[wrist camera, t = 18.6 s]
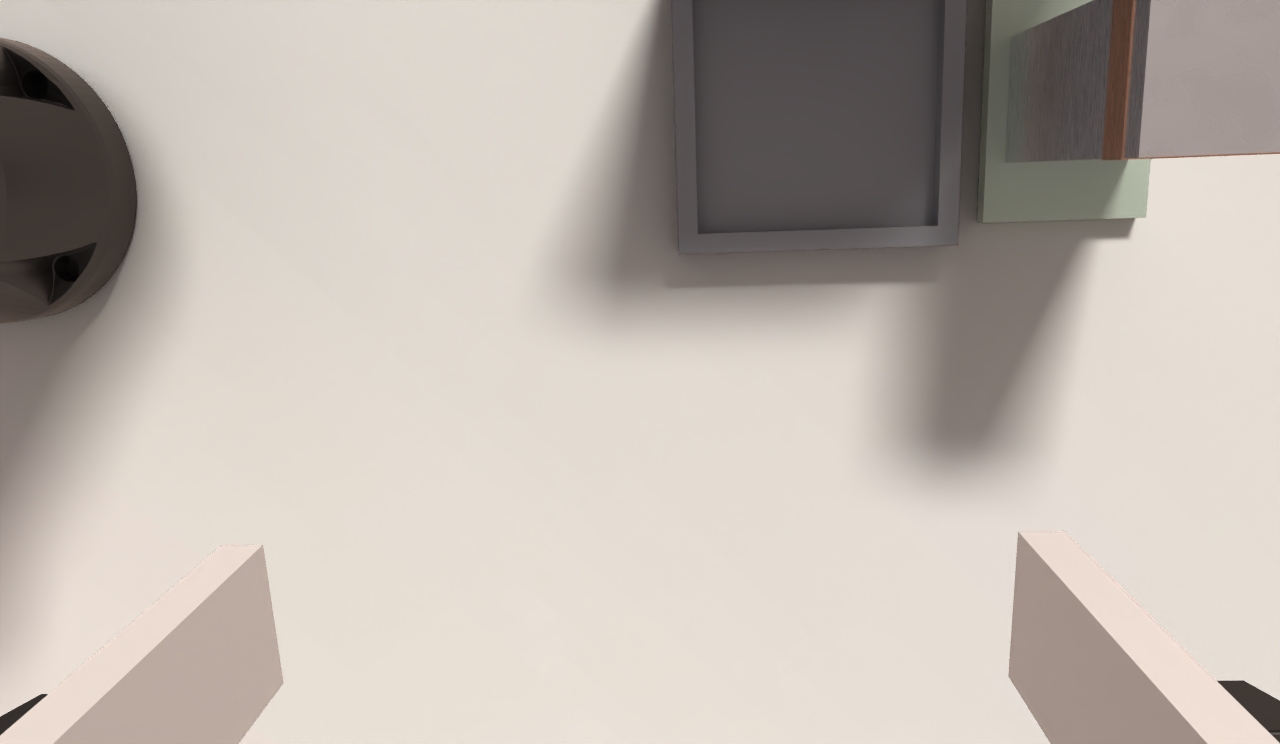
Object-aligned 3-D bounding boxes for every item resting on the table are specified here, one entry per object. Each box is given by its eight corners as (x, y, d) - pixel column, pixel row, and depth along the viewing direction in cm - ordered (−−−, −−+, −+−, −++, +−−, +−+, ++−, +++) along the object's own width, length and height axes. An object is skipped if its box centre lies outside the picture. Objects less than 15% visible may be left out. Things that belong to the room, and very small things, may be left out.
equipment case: (679, 251, 48) (670, 287, 32) (670, -56, 45) (656, -180, 29) (946, 242, 47) (1070, 275, 31) (957, -72, 44) (1101, -209, 28)
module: (1003, 164, 45) (1136, 159, 31) (1009, 35, 44) (1151, -28, 30) (1129, 159, 45) (1320, 152, 31) (1139, 29, 43) (1342, -39, 30)
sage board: (977, 222, 47) (982, 222, 46) (987, -25, 44) (993, -30, 43) (1136, 216, 46) (1145, 217, 45) (1156, -34, 44) (1166, -39, 43)
